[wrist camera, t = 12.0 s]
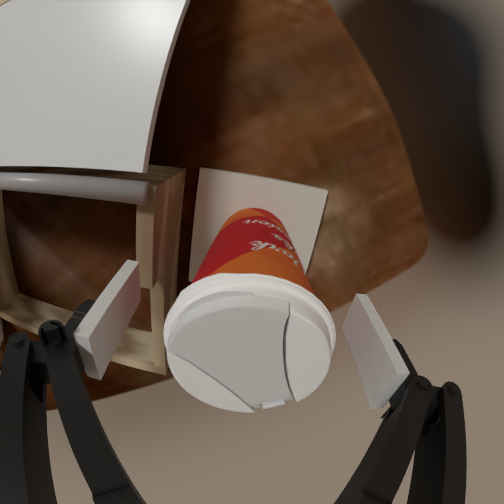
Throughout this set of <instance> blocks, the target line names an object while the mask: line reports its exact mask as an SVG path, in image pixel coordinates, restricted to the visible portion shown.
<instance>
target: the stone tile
mask: <svg viewBox="0 0 504 504" xmlns="http://www.w3.org/2000/svg"><path fill="white" fill-rule="evenodd" d="M327 194H328V190H327V189H322V188H318V187H313V186H308V185H303V184H299V183H294V182H289V181H284V180H278V179H273V178H268V177H262V176H256V175H250V174H244V173H238V172H232V171H225V170H219V169H212V168H204V167H201V168H200V172H199V180H198V188H197V196H196V205H195V214H194V224H193V234H192V244H191V256H190V268H189V281H190V282H192V281H193V279H194V277H195V275H196V273H197V271H198V269H199V268H200V266H201V264H202V262H203V260H204V258H205V256H206V254H207V252H208V251H209V249H210V247H211V245H212V243H213V241H214V239H215V238H216V236H217V234H218V232H219V231H220V229H221V227H222V226H223V224H224V223H225V222H226V220H227V219H228V218H229V217H230V216H231V215H233V214H234V213H236V212H237V211H240V210H242V209H246V208H260V209H264V210H267V211H269V212H271V213H272V214H274V215H275V216H276V217H277V218H278V219H279V220H280V221H281V222H282V224H283V225H284V227H285V229H286V231H287V233H288V235H289V237H290V239H291V241H292V244H293V246H294V248H295V250H296V252H297V255H298V257H299V259H300V262H301V264H302V266H303V269H304V271H305V273H306V271H307V268H308V265H309V261H310V258H311V254H312V251H313V247H314V243H315V240H316V236H317V232H318V229H319V225H320V221H321V217H322V213H323V210H324V206H325V202H326V198H327Z"/></svg>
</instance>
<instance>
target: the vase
mask: <svg viewBox="0 0 504 504" xmlns="http://www.w3.org/2000/svg"><path fill="white" fill-rule="evenodd" d="M3 339H4V338H3V325H2V319H1V317H0V346H1V342H2V341H3Z"/></svg>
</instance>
